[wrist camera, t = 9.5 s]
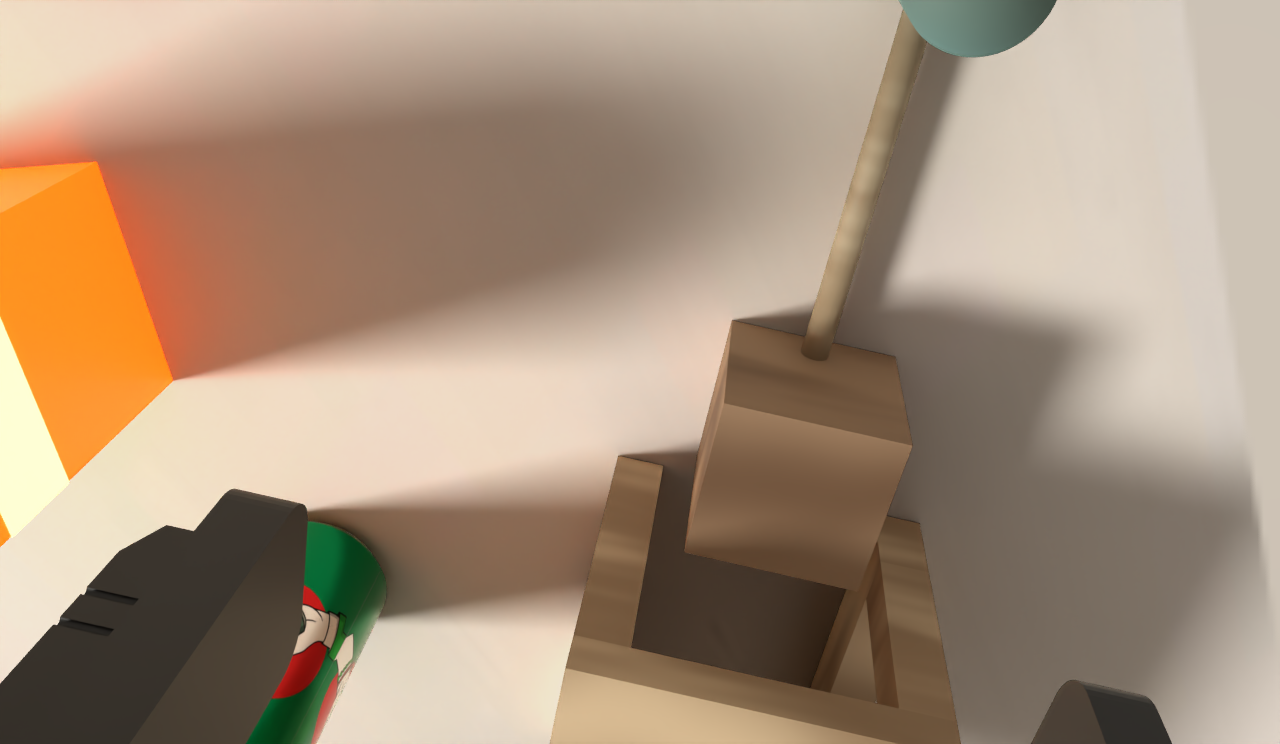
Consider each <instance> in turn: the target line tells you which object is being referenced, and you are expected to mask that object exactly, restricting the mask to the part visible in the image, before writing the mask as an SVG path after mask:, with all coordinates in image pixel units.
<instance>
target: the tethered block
mask: <svg viewBox="0 0 1280 744" xmlns="http://www.w3.org/2000/svg"><path fill="white" fill-rule="evenodd" d="M899 2H900V4H901V5H902V7H903V12H902V15H901V18H900V22H899V25H898V28H897V32H896V35H895V38H894V42H893V45H892V48H891V52H890V55H889V58H888V62H887V65H886V68H885V72H884V75H883V78H882V82H881V85H880V88H879V92H878V95H877V98H876V102H875V105H874V108H873V112H872V115H871V118H870V122H869V125H868V128H867V132H866V135H865V138H864V142H863V145H862V148H861V152H860V155H859V158H858V162H857V165H856V168H855V172H854V175H853V178H852V182H851V185H850V188H849V192H848V195H847V198H846V202H845V205H844V209H843V212H842V215H841V219H840V222H839V225H838V229H837V232H836V235H835V239H834V242H833V245H832V249H831V252H830V255H829V259H828V262H827V265H826V269H825V272H824V275H823V279H822V282H821V285H820V289H819V292H818V295H817V299H816V302H815V305H814V309H813V312H812V315H811V319H810V322H809V325H808V329H807V332H806V335H805V337H804V336H800V335H795V334H791V333H787V332H782V331H778V330H773V329H769V328H764V327H760V326H755V325H751V324H746V323H742V322H737V321H733V320H732V323H731V326H730V330H729V334H728V338H727V342H726V346H725V350H724V353H723V357H722V361H721V365H720V369H719V373H718V377H717V380H716V384H715V388H714V392H713V396H712V400H711V404H710V407H709V411H708V415H707V419H706V423H705V427H704V431H703V434H702V438H701V442H700V446H699V450H698V454H697V459H696V466H695V474H694V481H693V489H692V496H691V504H690V512H689V519H688V527H687V534H686V542H685V549H684V552H685V553H689V554H694V555H698V556H702V557H707V558H711V559H716V560H720V561H724V562H729V563H733V564H738V565H742V566H746V567H751V568H755V569H760V570H764V571H768V572H773V573H777V574H782V575H786V576H790V577H795V578H799V579H804V580H808V581H812V582H817V583H821V584H826V585H830V586H834V587H839V588H843V589H848V590H852V591H856V592H858V590H859V587H860V585H861V582H862V579H863V577H864V574H865V571H866V569H867V566H868V563H869V561H870V558H871V555H872V553H873V550H874V547H875V545H876V542H877V539H878V537H879V534H880V531H881V529H882V526H883V523H884V521H885V518H886V516H887V513H888V510H889V508H890V505H891V502H892V500H893V497H894V494H895V492H896V489H897V486H898V484H899V481H900V478H901V476H902V473H903V470H904V468H905V465H906V462H907V460H908V457H909V455H910V452H911V449H912V447H913V444H912V439H911V434H910V429H909V424H908V419H907V414H906V409H905V404H904V398H903V393H902V388H901V383H900V378H899V373H898V368H897V363H896V358H895V357H894V356H889V355H885V354H880V353H876V352H871V351H867V350H862V349H858V348H853V347H849V346H844V345H840V344H836V343H833V340H834V336H835V333H836V330H837V327H838V324H839V321H840V317H841V314H842V311H843V308H844V305H845V301H846V298H847V295H848V292H849V289H850V286H851V282H852V279H853V276H854V273H855V270H856V267H857V263H858V260H859V257H860V254H861V251H862V247H863V244H864V241H865V238H866V235H867V232H868V228H869V225H870V222H871V219H872V216H873V213H874V209H875V206H876V203H877V200H878V197H879V193H880V190H881V187H882V184H883V181H884V178H885V174H886V171H887V168H888V165H889V162H890V159H891V155H892V152H893V149H894V146H895V143H896V139H897V136H898V133H899V130H900V127H901V124H902V120H903V117H904V114H905V111H906V108H907V104H908V101H909V98H910V95H911V92H912V89H913V85H914V82H915V79H916V76H917V73H918V70H919V66H920V63H921V60H922V57H923V54H924V50H925V47H926V44H927V42H928V43H929V44H931V45H933V46H934V47H936V48H937V49H939V50H942V51H944V52H946V53H949V54H952V55H956V56H962V57H983V56H989V55H993V54H997V53H1000V52H1003V51H1005V50H1008V49H1010V48H1012V47H1014V46H1016V45H1017V44H1019V43H1020V42H1022V41H1023V40H1025V39H1026V38H1027V37H1029V36H1030V35H1031V34H1032V33H1033V32H1035V30H1036V29H1037V28H1038V27H1039V26H1040V25H1041V24H1042V23H1043V22H1044V20H1045V19H1046V18H1047V16H1048V15H1049V13H1050V12H1051V10H1052V8H1053V7H1054V5H1055V3H1056V0H899Z"/></svg>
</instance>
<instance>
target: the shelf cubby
mask: <svg viewBox="0 0 1280 744" xmlns="http://www.w3.org/2000/svg"><path fill="white" fill-rule="evenodd" d="M662 471H663V466H662V465H657V464H653V463H648V462H644V461H639V460H635V459H630V458H626V457H621V456H618V459H617V463H616V467H615V471H614V475H613V479H612V483H611V487H610V491H609V495H608V499H607V503H606V507H605V511H604V515H603V519H602V523H601V527H600V531H599V535H598V539H597V543H596V547H595V552H594V556H593V560H592V564H591V568H590V572H589V576H588V580H587V584H586V588H585V592H584V596H583V600H582V604H581V608H580V612H579V616H578V620H577V624H576V628H575V632H574V636H573V640H572V644H571V648H570V652H569V656H568V660H567V664H566V668H565V673H564V678H563V682H562V687H561V692H560V697H559V702H558V706H557V711H556V716H555V721H554V725H553V730H552V735H551V740H550V744H961V741H960V736H959V731H958V725H957V720H956V715H955V709H954V704H953V699H952V693H951V688H950V683H949V678H948V672H947V667H946V662H945V656H944V651H943V646H942V640H941V635H940V630H939V624H938V619H937V614H936V608H935V603H934V598H933V592H932V587H931V582H930V576H929V571H928V566H927V560H926V555H925V550H924V544H923V539H922V534H921V529H920V523H915V522H911V521H906V520H902V519H897V518H893V517H889V516H886V518H885V521H884V523H883V526H882V529H881V531H880V534H879V537H878V539H877V542H876V545H875V547H874V550H873V553H872V555H871V558H870V561H869V563H868V566H867V569H866V571H865V574H864V577H863V579H862V582H861V585H860V587H859V590H858V592H856V591H852V590H848V589H846V591H845V594H844V597H843V600H842V602H841V605H840V608H839V611H838V613H837V616H836V619H835V621H834V624H833V627H832V630H831V632H830V635H829V638H828V640H827V643H826V646H825V649H824V651H823V654H822V657H821V660H820V662H819V665H818V668H817V670H816V673H815V676H814V679H813V681H812V684H811V687H810V688H806V687H802V686H797V685H793V684H789V683H784V682H780V681H775V680H771V679H767V678H762V677H758V676H753V675H749V674H745V673H740V672H736V671H731V670H727V669H723V668H718V667H714V666H709V665H705V664H700V663H696V662H692V661H687V660H683V659H678V658H674V657H670V656H665V655H661V654H656V653H652V652H648V651H643V650H639V649H634V648H631V645H632V640H633V634H634V628H635V623H636V617H637V611H638V606H639V600H640V594H641V589H642V583H643V578H644V572H645V566H646V561H647V555H648V549H649V544H650V538H651V533H652V527H653V521H654V516H655V510H656V504H657V499H658V493H659V488H660V482H661V476H662ZM876 699H877V703H875V701H876Z"/></svg>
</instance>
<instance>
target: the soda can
mask: <svg viewBox="0 0 1280 744" xmlns="http://www.w3.org/2000/svg"><path fill="white" fill-rule="evenodd" d="M386 591H387V587H386V581H385V577H384V574H383V572H382V569H381V567H380V565H379V564H378V562H377V560H376V558H375V557H374V555H373V554H372V553H371V551H370V550H369V549H368V548H367V547H366V546H365V545H364V544H363V543H362V542H361V541H360V540H359V539H357V538H356V537H355V536H354V535H352V534H350V533H349V532H347V531H345V530H343V529H341V528H339V527H336V526H333V525H330V524H327V523H322V522H316V521H308V526H307V543H306V559H305V575H304V591H303V608H302V620H301V626H300V631H299V636H298V640H297V644H296V647H295V650H294V653H293V656H292V659H291V662H290V664H289V667H288V669H287V671H286V673H285V675H284V677H283V679H282V681H281V683H280V684H279V686H278V688H277V690H276V691H275V693H274V695H273V697H272V698H271V700H270V702H269V704H268V705H267V707H266V709H265V711H264V712H263V714H262V716H261V718H260V719H259V721H258V723H257V725H256V727H255V728H254V730H253V732H252V734H251V735H250V737H249V739H248V741H247V742H246V744H316V743H317V741H318V739H319V737H320V735H321V733H322V731H323V729H324V727H325V725H326V723H327V721H328V719H329V717H330V715H331V713H332V711H333V709H334V707H335V705H336V703H337V701H338V698H339V696H340V694H341V692H342V690H343V688H344V686H345V684H346V682H347V680H348V678H349V676H350V674H351V672H352V670H353V668H354V666H355V664H356V662H357V660H358V658H359V656H360V654H361V652H362V650H363V648H364V646H365V644H366V641H367V639H368V637H369V635H370V633H371V631H372V629H373V627H374V625H375V623H376V621H377V619H378V617H379V615H380V613H381V611H382V609H383V607H384V604H385V600H386Z"/></svg>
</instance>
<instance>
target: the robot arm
mask: <svg viewBox="0 0 1280 744" xmlns="http://www.w3.org/2000/svg"><path fill="white" fill-rule="evenodd" d="M307 526H308V515H307V509H306V507H305V505H303V504H300V503H296V502H291V501H287V500H283V499H278V498H274V497H269V496H265V495H260V494H256V493H251V492H247V491H242V490H238V489H231V490H229V491H228V492H227V493H225V494H224V495H223V497H222V498H221V499H220V500H219V501H218V503H217V504H216V505H215V506H214V507H213V509H212V510H211V511H210V512H209V514H208V515H207V516H206V517H205V519H204V520H203V521H202V522H201V523H200V525H199V526H198V527H197V528H196V530H195V531H190V530H186V529H181V528H177V527H172V526H168V525H166V526H164V527H162V528H161V529H159V530H157V531H155V532H153V533H151V534H150V535H148V536H146V537H144V538H142V539H141V540H139V541H137V542H135V543H133V544H131V545H130V546H128V547H126V548H124V549H122V550H121V551H119V552H118V553H117V554H116V555H115V556H114V558H113V559H112V560H111V561H110V562H109V563H108V564H107V565H106V566H105V568H104V569H103V570H102V571H101V572H100V573H99V574H98V575H97V576H96V578H95V579H94V580H93V581H92V582H91V583H90V584H89V585H88V587H87V590H86V593H85V594H84V595H82V594H80V595H79V597H78V598H77V599H76V600H75V601H74V602H73V603H72V604H71V605H70V607H69V608H68V609H67V610H66V611H65V612H64V613H63V614H62V615H61V617H60V621H59V623H58V625H53V626H52V627H51V628H50V629H49V630H48V631H47V632H46V633H45V634H44V636H43V637H42V638H41V639H40V640H39V641H38V642H37V643H36V644H35V646H34V647H33V648H32V649H31V650H30V651H29V652H28V653H27V655H26V656H25V657H24V658H23V659H22V660H21V661H20V662H19V663H18V665H17V666H16V667H15V668H14V669H13V670H12V671H11V672H10V673H9V675H8V676H7V677H6V678H5V679H4V680H3V681H2V682H1V683H0V744H246V742H247V741H248V739H249V737H250V735H251V734H252V732H253V730H254V728H255V727H256V725H257V723H258V721H259V719H260V718H261V716H262V714H263V712H264V711H265V709H266V707H267V705H268V704H269V702H270V700H271V698H272V697H273V695H274V693H275V691H276V690H277V688H278V686H279V684H280V683H281V681H282V679H283V677H284V675H285V673H286V671H287V669H288V667H289V664H290V662H291V659H292V656H293V653H294V650H295V647H296V644H297V640H298V636H299V631H300V626H301V620H302V608H303V591H304V575H305V559H306V543H307ZM1031 744H1172V742H1171V740H1170V738H1169V736H1168V733H1167V731H1166V729H1165V727H1164V724H1163V722H1162V720H1161V718H1160V715H1159V713H1158V711H1157V709H1156V707H1155V705H1154V704H1153V702H1152V701H1151V700H1150V699H1149V698H1147V697H1146V696H1143V695H1139V694H1135V693H1130V692H1126V691H1121V690H1117V689H1112V688H1108V687H1104V686H1099V685H1095V684H1090V683H1086V682H1081V681H1077V680H1070V681H1068V682H1066V683H1065V684H1064V685H1063V686H1062V687H1061V688H1060V689H1059V691H1058V693H1057V694H1056V696H1055V698H1054V700H1053V702H1052V704H1051V706H1050V708H1049V710H1048V712H1047V714H1046V716H1045V718H1044V720H1043V722H1042V724H1041V726H1040V728H1039V730H1038V731H1037V733H1036V735H1035V737H1034V739H1033V741H1032V743H1031Z"/></svg>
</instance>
